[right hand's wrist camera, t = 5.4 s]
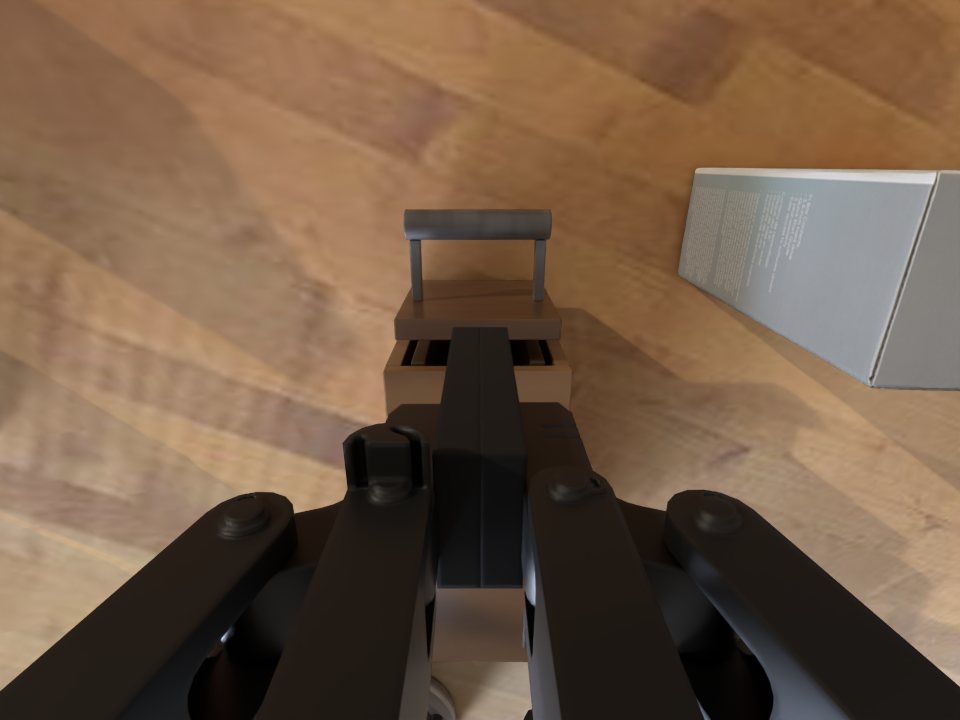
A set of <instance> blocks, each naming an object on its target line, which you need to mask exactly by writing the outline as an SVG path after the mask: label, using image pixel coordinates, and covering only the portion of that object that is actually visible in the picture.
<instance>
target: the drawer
mask: <svg viewBox="0 0 960 720" xmlns="http://www.w3.org/2000/svg"><path fill="white" fill-rule="evenodd" d="M551 228H552V215H551V210H405V212H404V233H405V238H406V239H407V240H410V241H409V242H410V262H411V282H412V287H411V289H410V291H409V293H408V295H407V297H406V298H405V300H404V302H403V304H402V306H401V308H400V310H399V312H398V313H397V315H396V317H395V319H394V328H395V339H396V340H419V341H418V344H417V347H416V350H415V353H414V356H413V359H412V362H411V366H447V360H448V354H449V348H450V342H451V336H452V329H453V327H507V329H508V336H509V342H510V348H511V354H512V360H513V366H545V361H544V358H543V355H542V352H541V349H540V346H539V343H538V340H560V337H561V321H562V320H561V318H560V316H559V314H558V312H557V310H556V308H555V306H554V305H553V303H552V301H551V299H550V297H549V295H548V293H547V291H546V289H545V287H544V275H545V253H546V240H549V239H550V236H551ZM421 240H535V246H534V272H533V280H422V257H421Z"/></svg>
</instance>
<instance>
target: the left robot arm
mask: <svg viewBox="0 0 960 720" xmlns="http://www.w3.org/2000/svg"><path fill="white" fill-rule="evenodd" d="M427 720H456V712H455V706H454V703H453V701H452V699H451V697H450V695H449V693H448V692H447V691H446V689H445V688H444V687H443V686H442V685H441V684H440V683H439V682H437V681H436V680H435V679H433V678H432V677H431V680H430V690H429V701H428V712H427ZM524 720H533V711H532V709H531V710H529V711H528V712H527V714H526V716H525V718H524Z"/></svg>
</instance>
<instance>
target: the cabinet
mask: <svg viewBox="0 0 960 720" xmlns="http://www.w3.org/2000/svg"><path fill="white" fill-rule="evenodd" d="M418 341H419V340H397V342H396V344H395V346H394V349H393V351H392V353H391V355H390V357H389V360H388V362H387V364H386V367H385V369H384V371H383V379H384V392H385V406H386V419H387V417H388V414H390V413H391V412H392V411H393V410H395V409H396V408H397V407H398V406H400V405H401V404H440V403H441V397H442V391H443V385H444V378H445V372H446V366H411V362H412V359H413V356H414V353H415V350H416V347H417V344H418ZM538 343H539V346H540V349H541V352H542V355H543V358H544V361H545V366H514V372H515V378H516V385H517V391H518V397H519V402H559V403H560V404H561V405H563V406H564V407H565V408H566V409H568V410H569V411H570V402H571V388H572V374H573V372H572V369H571V367H570V365H569V362H568V360H567V358H566V356H565V354H564V351H563V349H562V347H561V345H560V342H559V340H538ZM436 613H437V615H436V625H435V636H434V647H433V658H432V662H528V657H527V648H522V637H523V613H524V580H523V589H437V582H436Z"/></svg>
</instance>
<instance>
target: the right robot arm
mask: <svg viewBox="0 0 960 720" xmlns="http://www.w3.org/2000/svg"><path fill="white" fill-rule="evenodd" d="M343 451H344V460H345V469H346V478H347V487H348V489H347V492H346V494H345V497H344V500H342V501H340V502H338V503H335V504H333V505H330V506H326V507H323V508H319V509H314V510H309V511H305V512H300V513H295V514H294V510H293V504H292V503H291V502H290V501H289V500H288V499H287V498H286V497H285V496H282V495H279V494H276V493H273V492H255V493H249V494H243V495H239V496H237V497H234V498H232V499H229V500H227V501H224V502H222V503H220V504H219V505H217V506H216V507H214V508H213V509H211V510H210V511H208V512H207V513H205V514H204V515H203V516H202V517H201V518H200V519H199V520H197V521H196V522H195V523H194V524H193V525H192V526H190V527H189V528H188V529H187V530H186V531H185V532H184V533H182V534H181V535H180V536H179V537H178V538H177V539H175V540H174V541H173V542H172V543H171V544H170V545H169V546H167V547H166V548H165V549H164V550H163V551H162V552H160V553H159V554H158V555H157V556H156V557H155V558H154V559H152V560H151V561H150V562H149V563H148V564H147V565H145V566H144V567H143V568H142V569H141V570H140V571H139V572H137V573H136V574H135V575H134V576H133V577H132V578H130V579H129V580H128V581H127V582H126V583H125V584H124V585H122V586H121V587H120V588H119V589H118V590H117V591H115V592H114V593H113V594H112V595H111V596H110V597H109V598H107V599H106V600H105V601H104V602H103V603H102V604H100V605H99V606H98V607H97V608H96V609H95V610H94V611H92V612H91V613H90V614H89V615H88V616H87V617H85V618H84V619H83V620H82V621H81V622H80V623H79V624H77V625H76V626H75V627H74V628H73V629H72V630H70V631H69V632H68V633H67V634H66V635H65V636H63V637H62V638H61V639H60V640H59V641H58V642H57V643H55V644H54V645H53V646H52V647H51V648H50V649H48V650H47V651H46V652H45V653H44V654H43V655H42V656H40V657H39V658H38V659H37V660H36V661H35V662H33V663H32V664H31V665H30V666H29V667H28V668H27V669H25V670H24V671H23V672H22V673H21V674H20V675H18V676H17V677H16V678H15V679H14V680H13V681H12V682H10V683H9V684H8V685H7V686H6V687H5V688H3V689H2V690H1V691H0V720H427V712H428V701H429V690H430V680H431V669H432V658H433V647H434V636H435V625H436V615H437V613H436V582H437V589H523V580H524V613H523V637H522V648H527V657H528V668H529V679H530V690H531V700H532V711H533V720H960V687H959V686H958V685H957V684H956V683H955V682H954V681H952V680H951V679H950V678H949V677H948V676H947V675H945V674H944V673H943V672H942V671H941V670H940V669H938V668H937V667H936V666H935V665H934V664H933V663H931V662H930V661H929V660H928V659H927V658H926V657H924V656H923V655H922V654H921V653H920V652H919V651H917V650H916V649H915V648H914V647H913V646H912V645H910V644H909V643H908V642H907V641H906V640H905V639H903V638H902V637H901V636H900V635H899V634H898V633H897V632H895V631H894V630H893V629H892V628H891V627H890V626H888V625H887V624H886V623H885V622H884V621H883V620H881V619H880V618H879V617H878V616H877V615H876V614H874V613H873V612H872V611H871V610H870V609H869V608H867V607H866V606H865V605H864V604H863V603H862V602H860V601H859V600H858V599H857V598H856V597H855V596H853V595H852V594H851V593H850V592H849V591H848V590H846V589H845V588H844V587H843V586H842V585H841V584H839V583H838V582H837V581H836V580H835V579H834V578H832V577H831V576H830V575H829V574H828V573H827V572H825V571H824V570H823V569H822V568H821V567H820V566H818V565H817V564H816V563H815V562H814V561H813V560H812V559H810V558H809V557H808V556H807V555H806V554H805V553H803V552H802V551H801V550H800V549H799V548H798V547H796V546H795V545H794V544H793V543H792V542H791V541H789V540H788V539H787V538H786V537H785V536H784V535H782V534H781V533H780V532H779V531H778V530H777V529H775V528H774V527H773V526H772V525H771V524H770V523H768V522H767V521H766V520H765V519H764V518H763V517H761V516H760V515H759V514H758V513H757V512H756V511H754V510H753V509H752V508H750V507H749V506H747V505H746V504H744V503H743V502H741V501H740V500H737V499H735V498H732V497H730V496H727V495H725V494H722V493H719V492H715V491H714V492H713V491H708V490H686V491H683V492H680V493H677V494H675V495H674V496H673V497H672V498H671V499H670V500H669V501H668V504H667V510H666V511H662V510H657V509H652V508H647V507H642V506H638V505H635V504H631V503H627V502H625V501H623V500H621V499H618V498H616V496H615V494H614V491H613V489H612V487H611V486H610V484H609V483H608V482H607V480H606V479H605V478H603V477H602V476H600V475H599V474H597V473H596V472H594V471H593V470H592V467H591V465H590V462H589V459H588V456H587V454H586V451H585V448H584V445H583V443H582V440H581V438H580V434H579V432H578V429H577V428H576V423H575V421H574V418H573V415H572V413H571V412H570V411H569V410H568V409H566V408H565V407H564V406H563V405H561V404H560V403H559V402H519V397H518V391H517V385H516V378H515V372H514V366H513V360H512V354H511V348H510V342H509V336H508V329H507V327H453V329H452V336H451V342H450V348H449V354H448V360H447V366H446V372H445V378H444V385H443V391H442V397H441V403H440V404H401V405H400V406H398V407H397V408H396V409H395V410H393V411H392V412H391V413H390V414H388V417H387V420H386V423H382V424H375V425H371V426H368V427H365V428H361V429H360V430H358V431H356V432H354V433H352V434H351V435H349V436H348V438H347V439H346V440H345V441H344V442H343Z"/></svg>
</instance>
